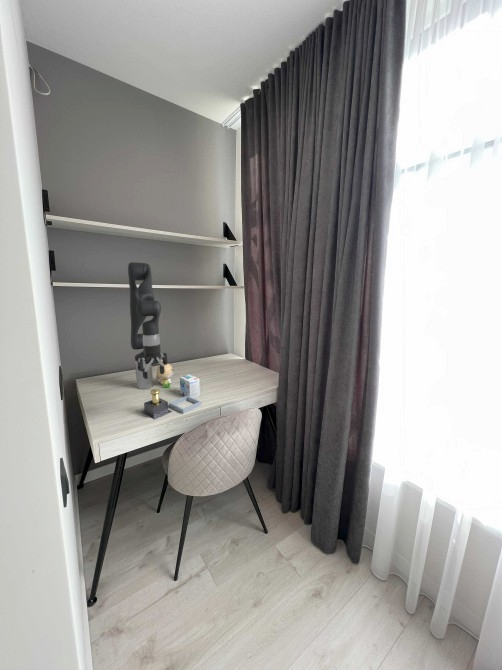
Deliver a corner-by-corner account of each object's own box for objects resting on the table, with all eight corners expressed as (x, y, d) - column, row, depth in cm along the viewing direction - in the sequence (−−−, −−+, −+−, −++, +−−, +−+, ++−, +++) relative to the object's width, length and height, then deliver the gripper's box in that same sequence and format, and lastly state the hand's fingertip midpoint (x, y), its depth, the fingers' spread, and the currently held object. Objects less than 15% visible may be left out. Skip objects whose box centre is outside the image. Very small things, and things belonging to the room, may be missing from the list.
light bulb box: (180, 394, 156) (179, 376, 154) (190, 391, 161) (189, 373, 159) (190, 400, 149) (189, 381, 146) (200, 396, 153) (199, 378, 151)
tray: (169, 408, 139) (169, 403, 139) (187, 400, 148) (187, 395, 148) (183, 415, 132) (183, 409, 132) (201, 406, 141) (201, 401, 140)
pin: (150, 412, 133) (148, 391, 131) (158, 408, 137) (156, 388, 134) (155, 414, 131) (153, 393, 129) (162, 411, 134) (161, 390, 132)
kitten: (176, 387, 167) (175, 363, 163) (159, 390, 162) (158, 366, 159) (171, 379, 180) (170, 357, 176) (156, 381, 175) (154, 359, 172)
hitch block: (140, 413, 134) (139, 402, 133) (158, 406, 141) (158, 395, 140) (154, 421, 126) (153, 409, 125) (172, 413, 134) (171, 402, 133)
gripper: (160, 339, 134) (162, 370, 138) (132, 345, 124) (135, 378, 127) (169, 341, 130) (171, 374, 133) (141, 347, 119) (144, 382, 122)
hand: (154, 376), depth 130 cm, fingers open, 8 cm apart
